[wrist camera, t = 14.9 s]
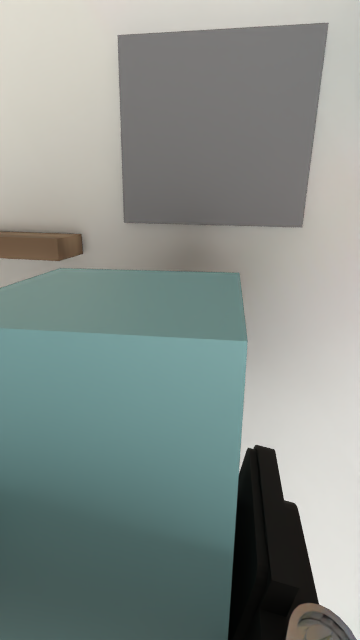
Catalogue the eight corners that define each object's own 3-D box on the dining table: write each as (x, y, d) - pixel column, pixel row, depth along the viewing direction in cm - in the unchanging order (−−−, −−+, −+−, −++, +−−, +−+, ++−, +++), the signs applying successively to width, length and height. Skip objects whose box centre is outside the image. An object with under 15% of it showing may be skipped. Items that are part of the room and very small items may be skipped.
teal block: (239, 272, 9) (247, 341, 4) (226, 511, 11) (222, 722, 7) (60, 268, 10) (-105, 322, 5) (84, 493, 12) (-11, 674, 7)
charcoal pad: (300, 226, 19) (302, 227, 18) (127, 221, 20) (124, 222, 20) (325, 29, 16) (328, 22, 15) (121, 40, 18) (117, 35, 17)
